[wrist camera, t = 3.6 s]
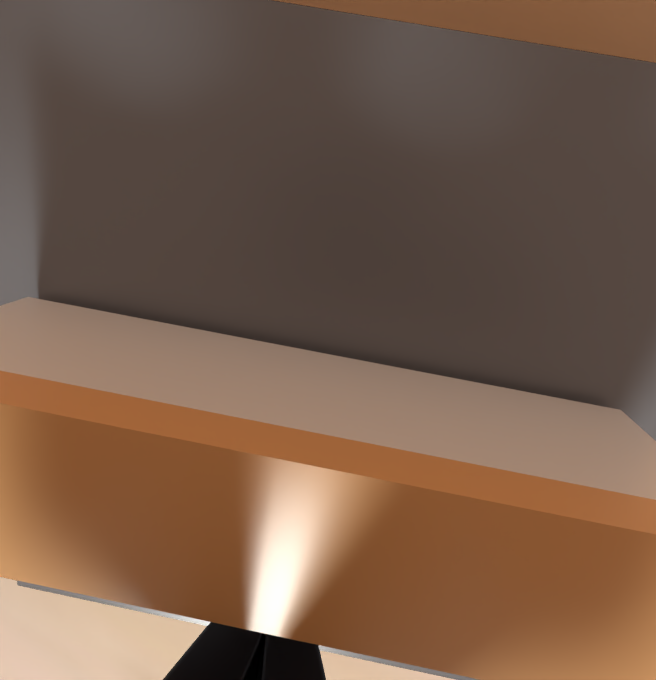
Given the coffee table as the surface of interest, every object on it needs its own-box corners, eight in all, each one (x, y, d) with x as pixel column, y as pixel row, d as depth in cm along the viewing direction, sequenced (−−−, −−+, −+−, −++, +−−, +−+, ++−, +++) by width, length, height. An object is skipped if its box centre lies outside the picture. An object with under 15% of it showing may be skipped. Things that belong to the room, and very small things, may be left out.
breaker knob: (566, 529, 8) (675, 721, 5) (38, 422, 8) (-137, 547, 5) (620, 409, 7) (790, 561, 4) (28, 296, 7) (-188, 365, 4)
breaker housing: (505, 613, 11) (531, 695, 10) (73, 522, 12) (17, 585, 10) (720, 116, 7) (840, 92, 5) (45, 4, 8) (-58, -54, 6)
